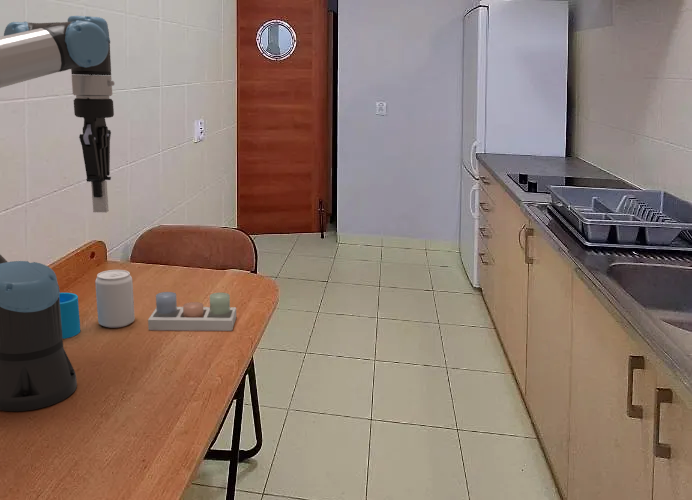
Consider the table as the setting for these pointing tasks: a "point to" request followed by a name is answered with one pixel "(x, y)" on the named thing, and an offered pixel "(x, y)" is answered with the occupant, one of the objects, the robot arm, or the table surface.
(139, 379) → the table surface
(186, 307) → the button terracotta
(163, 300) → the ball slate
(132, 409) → the table surface
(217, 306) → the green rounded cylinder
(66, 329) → the mug
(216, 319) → the three-ball tray
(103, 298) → the beverage can
